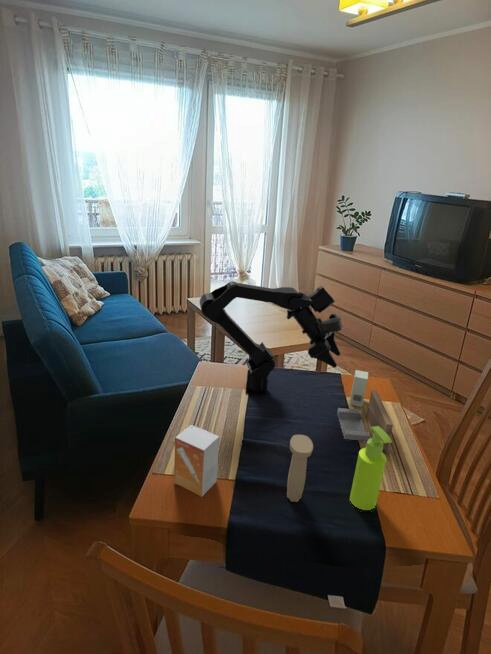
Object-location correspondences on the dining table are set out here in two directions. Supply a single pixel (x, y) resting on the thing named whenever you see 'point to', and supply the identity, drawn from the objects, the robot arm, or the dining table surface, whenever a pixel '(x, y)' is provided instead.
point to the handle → (298, 466)
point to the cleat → (352, 424)
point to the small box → (196, 460)
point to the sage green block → (359, 388)
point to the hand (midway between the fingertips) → (337, 360)
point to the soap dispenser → (369, 471)
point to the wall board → (379, 418)
